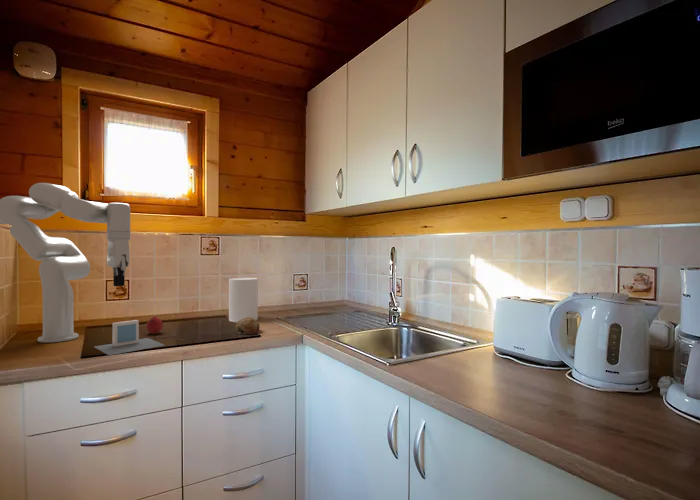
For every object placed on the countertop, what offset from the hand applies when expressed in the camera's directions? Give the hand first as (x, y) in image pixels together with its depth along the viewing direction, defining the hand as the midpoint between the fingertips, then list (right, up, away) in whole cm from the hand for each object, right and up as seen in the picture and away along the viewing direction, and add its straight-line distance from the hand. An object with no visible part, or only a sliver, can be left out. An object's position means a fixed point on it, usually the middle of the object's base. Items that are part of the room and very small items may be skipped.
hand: (119, 285), depth 147 cm
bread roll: (+43, -21, +20) cm, 52 cm away
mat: (+8, -21, -7) cm, 24 cm away
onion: (+7, -21, +13) cm, 26 cm away
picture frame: (+5, -21, -4) cm, 22 cm away
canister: (+34, -21, +47) cm, 61 cm away
